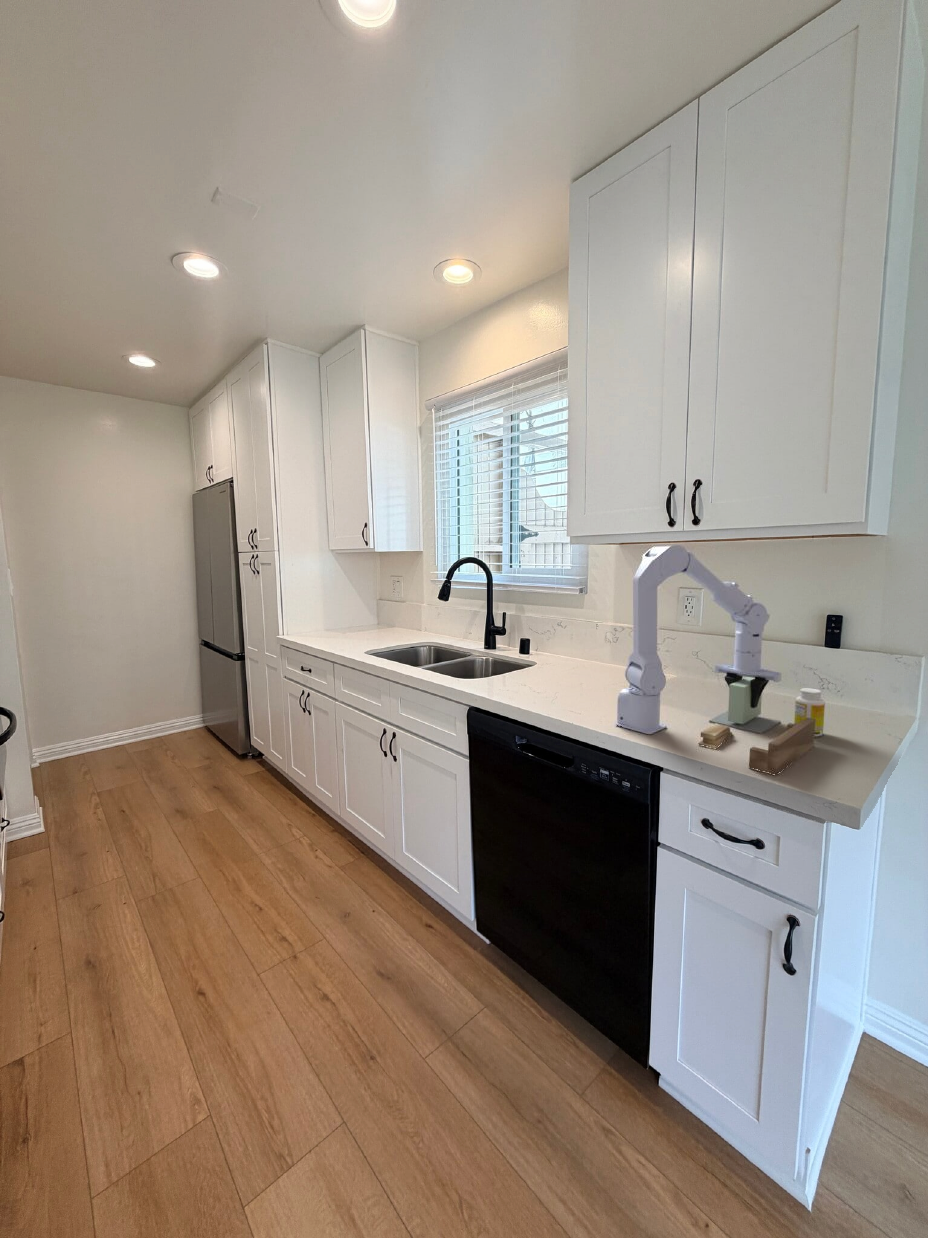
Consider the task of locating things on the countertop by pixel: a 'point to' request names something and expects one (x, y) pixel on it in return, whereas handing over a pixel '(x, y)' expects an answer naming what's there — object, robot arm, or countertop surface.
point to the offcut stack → (715, 735)
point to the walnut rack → (784, 748)
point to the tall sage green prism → (742, 702)
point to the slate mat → (747, 723)
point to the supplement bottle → (810, 708)
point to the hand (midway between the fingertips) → (745, 705)
